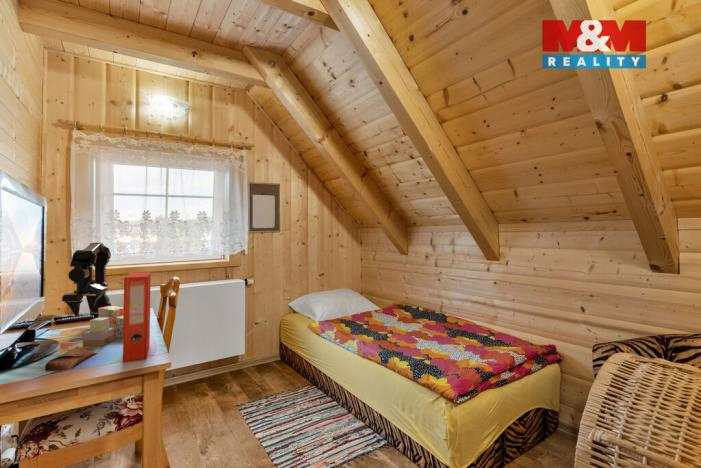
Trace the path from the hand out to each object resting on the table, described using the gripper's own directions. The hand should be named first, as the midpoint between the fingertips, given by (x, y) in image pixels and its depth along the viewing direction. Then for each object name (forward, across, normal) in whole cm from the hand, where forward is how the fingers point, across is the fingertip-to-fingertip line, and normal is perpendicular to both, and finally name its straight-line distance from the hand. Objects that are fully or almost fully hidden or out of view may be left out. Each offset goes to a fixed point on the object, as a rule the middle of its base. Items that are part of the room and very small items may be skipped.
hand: (84, 313), depth 155 cm
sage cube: (+7, -2, -8) cm, 10 cm away
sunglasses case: (+13, -24, -12) cm, 30 cm away
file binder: (+12, -16, -32) cm, 38 cm away
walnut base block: (+13, -2, -7) cm, 15 cm away
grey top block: (+10, -2, -7) cm, 13 cm away
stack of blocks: (+13, +12, -7) cm, 19 cm away
